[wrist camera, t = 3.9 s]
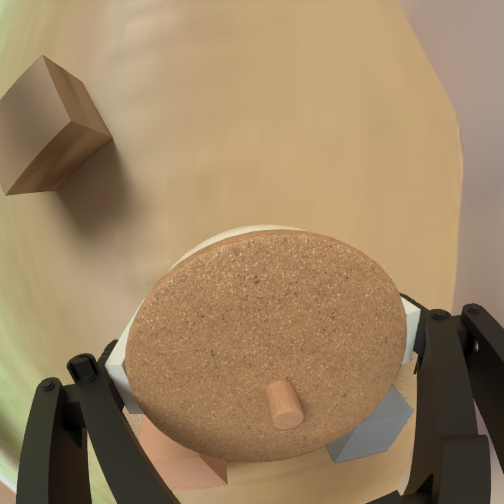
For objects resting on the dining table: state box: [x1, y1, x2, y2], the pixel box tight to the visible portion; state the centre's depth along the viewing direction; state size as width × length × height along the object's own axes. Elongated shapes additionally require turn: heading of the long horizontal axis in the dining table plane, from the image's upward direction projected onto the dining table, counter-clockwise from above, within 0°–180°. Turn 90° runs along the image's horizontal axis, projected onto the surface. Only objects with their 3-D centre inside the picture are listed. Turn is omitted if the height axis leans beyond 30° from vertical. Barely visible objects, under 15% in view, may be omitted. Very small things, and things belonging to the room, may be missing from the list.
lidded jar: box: [125, 224, 407, 463], centre depth 12 cm, size 11×11×9 cm
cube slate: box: [326, 385, 414, 463], centre depth 17 cm, size 5×5×5 cm
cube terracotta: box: [138, 415, 228, 490], centre depth 16 cm, size 5×5×5 cm
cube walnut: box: [0, 55, 113, 196], centre depth 10 cm, size 5×5×5 cm
